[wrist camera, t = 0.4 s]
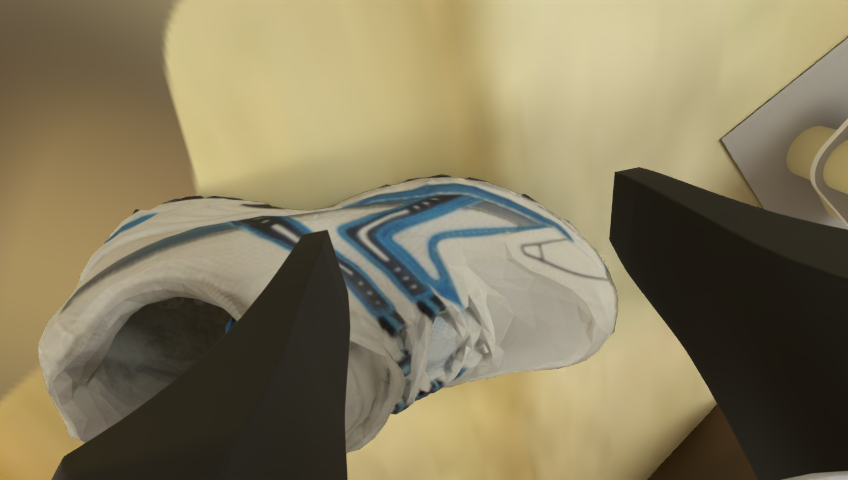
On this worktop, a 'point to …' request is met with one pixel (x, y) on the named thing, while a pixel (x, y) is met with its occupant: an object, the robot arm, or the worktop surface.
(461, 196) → the athletic shoe
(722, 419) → the brown block holder
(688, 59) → the worktop surface
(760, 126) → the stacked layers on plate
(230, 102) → the worktop surface
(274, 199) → the worktop surface
